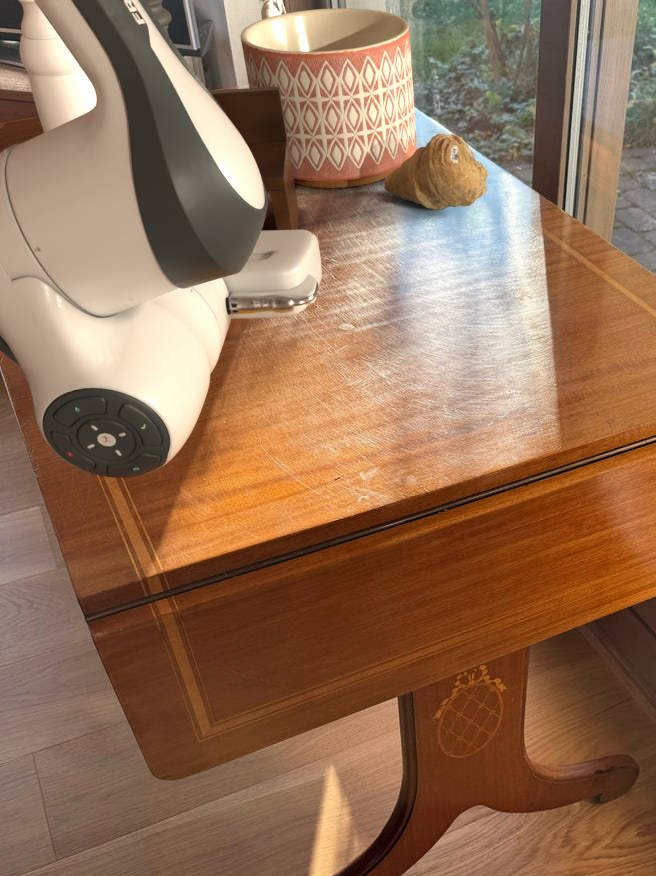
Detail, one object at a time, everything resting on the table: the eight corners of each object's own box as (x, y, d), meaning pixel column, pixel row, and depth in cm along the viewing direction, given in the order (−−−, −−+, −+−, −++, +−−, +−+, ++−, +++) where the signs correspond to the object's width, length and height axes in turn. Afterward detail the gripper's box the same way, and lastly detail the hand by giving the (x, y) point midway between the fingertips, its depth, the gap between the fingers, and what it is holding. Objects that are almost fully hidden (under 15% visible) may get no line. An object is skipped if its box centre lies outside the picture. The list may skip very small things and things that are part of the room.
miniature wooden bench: (142, 267, 103) (106, 134, 93) (157, 221, 111) (124, 95, 102) (296, 256, 104) (275, 123, 94) (298, 212, 112) (279, 86, 103)
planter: (321, 208, 113) (302, 63, 102) (234, 165, 123) (208, 30, 113) (449, 164, 121) (443, 27, 111) (358, 128, 132) (344, -1, 121)
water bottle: (153, 223, 111) (85, -43, 93) (118, 248, 106) (39, -26, 88) (101, 216, 112) (24, -46, 95) (63, 241, 108) (-25, -30, 90)
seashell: (400, 233, 118) (363, 222, 111) (392, 162, 116) (354, 145, 109) (503, 207, 111) (471, 193, 104) (495, 131, 110) (462, 111, 103)
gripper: (307, 261, 65) (325, 184, 75) (-1, 270, 65) (58, 191, 75) (320, 349, 70) (335, 264, 79) (31, 356, 69) (83, 271, 79)
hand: (199, 228), depth 77 cm, fingers closed on wooden figurine, 5 cm apart
